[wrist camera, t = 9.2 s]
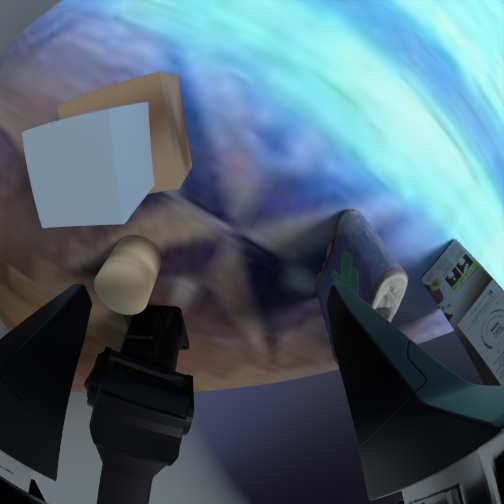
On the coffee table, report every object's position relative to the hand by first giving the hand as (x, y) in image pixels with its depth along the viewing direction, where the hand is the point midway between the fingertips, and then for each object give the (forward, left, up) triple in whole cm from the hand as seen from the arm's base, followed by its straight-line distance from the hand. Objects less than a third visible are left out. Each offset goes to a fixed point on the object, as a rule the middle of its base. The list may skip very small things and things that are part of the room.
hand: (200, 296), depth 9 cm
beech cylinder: (-7, +8, -13) cm, 17 cm away
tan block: (+4, +6, -13) cm, 15 cm away
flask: (-7, -10, -13) cm, 18 cm away
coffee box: (-10, -26, -13) cm, 31 cm away
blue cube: (+4, +6, -8) cm, 11 cm away
